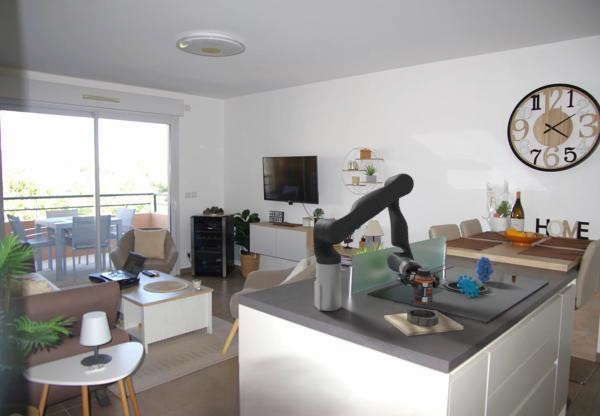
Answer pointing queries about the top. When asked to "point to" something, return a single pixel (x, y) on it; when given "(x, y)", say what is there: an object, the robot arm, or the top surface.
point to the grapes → (484, 269)
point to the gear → (468, 286)
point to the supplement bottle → (423, 287)
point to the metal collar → (414, 319)
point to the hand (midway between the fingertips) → (426, 285)
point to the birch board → (411, 329)
